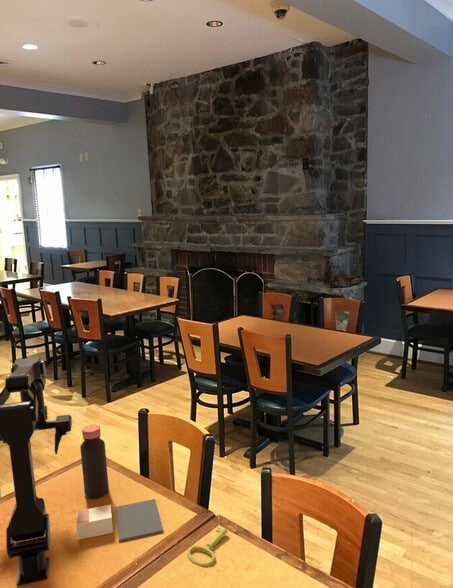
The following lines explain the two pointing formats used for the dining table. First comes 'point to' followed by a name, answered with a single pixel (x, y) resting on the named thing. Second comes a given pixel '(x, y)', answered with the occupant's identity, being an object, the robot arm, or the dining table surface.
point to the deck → (94, 522)
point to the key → (207, 549)
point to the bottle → (94, 462)
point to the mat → (138, 520)
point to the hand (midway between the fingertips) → (38, 456)
